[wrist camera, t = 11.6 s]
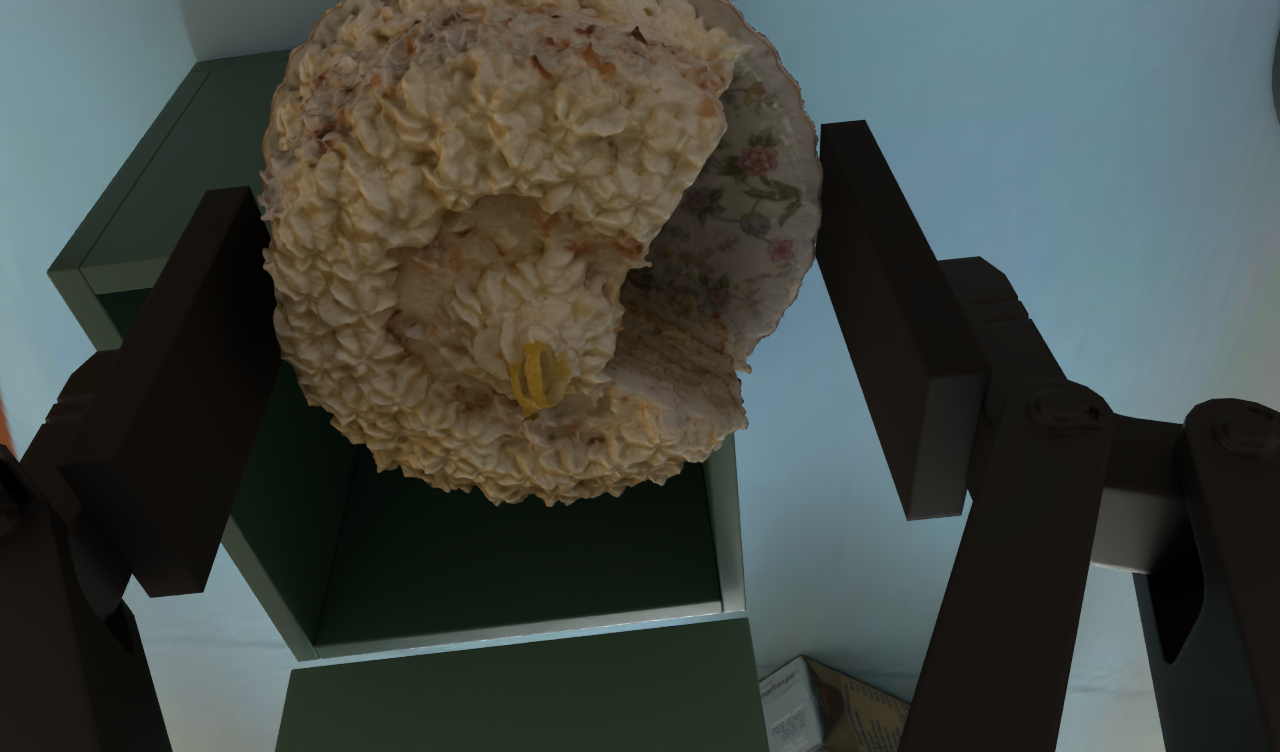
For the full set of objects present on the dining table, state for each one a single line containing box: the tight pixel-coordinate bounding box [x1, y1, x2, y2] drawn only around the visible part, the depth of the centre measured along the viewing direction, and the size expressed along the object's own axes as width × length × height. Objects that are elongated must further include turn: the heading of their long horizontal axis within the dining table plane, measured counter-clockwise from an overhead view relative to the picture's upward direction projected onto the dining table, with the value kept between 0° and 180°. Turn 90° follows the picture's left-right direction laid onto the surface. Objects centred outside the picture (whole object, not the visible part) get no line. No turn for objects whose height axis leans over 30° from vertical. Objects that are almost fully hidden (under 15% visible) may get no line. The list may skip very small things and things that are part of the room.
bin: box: [47, 49, 746, 662], centre depth 32 cm, size 17×16×12 cm
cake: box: [257, 0, 823, 507], centre depth 16 cm, size 10×10×5 cm
